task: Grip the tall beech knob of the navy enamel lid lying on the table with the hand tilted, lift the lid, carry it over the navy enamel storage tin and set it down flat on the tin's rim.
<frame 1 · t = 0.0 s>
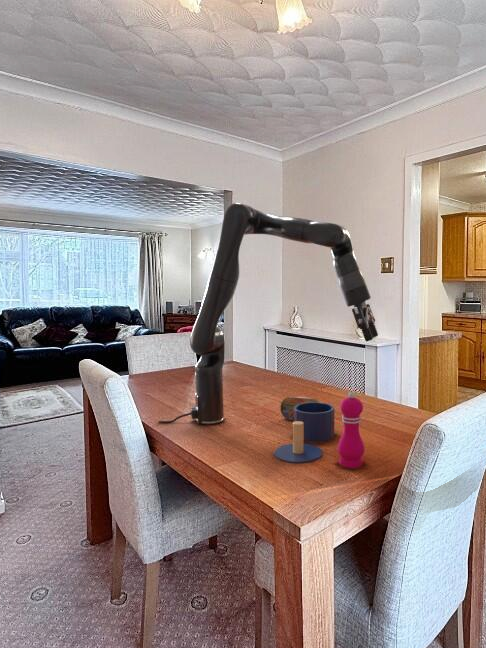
hand: (372, 338, 138), 31 cm above the table, tool tilted 20°, fingers open, 8 cm apart
pepper mill: (350, 465, 123), on the table
lid: (298, 453, 129), point 1 cm above the table
can: (314, 436, 144), on the table
tin: (301, 421, 161), on the table
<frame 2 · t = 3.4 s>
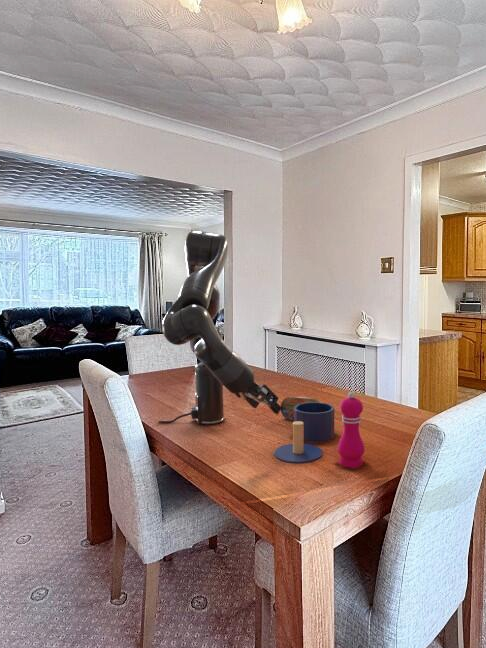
hand: (267, 408, 119), 16 cm above the table, tool tilted 45°, fingers open, 8 cm apart
nothing on the table moved.
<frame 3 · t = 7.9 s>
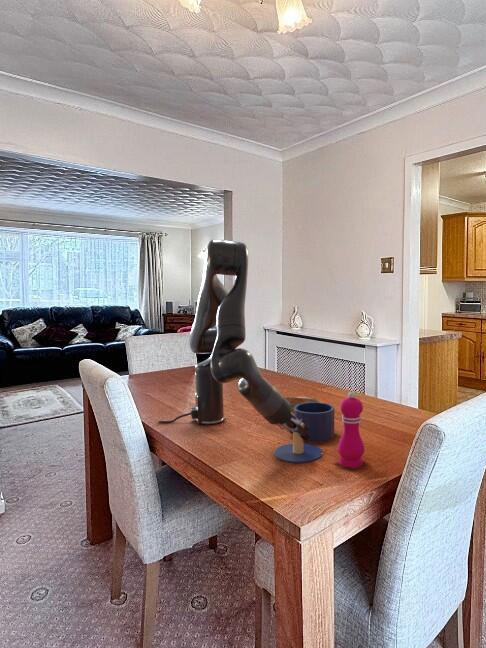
hand: (303, 436, 130), 5 cm above the table, tool tilted 45°, fingers closed on lid, 3 cm apart
lid: (298, 453, 129), point 1 cm above the table, touching gripper
everything else where it was.
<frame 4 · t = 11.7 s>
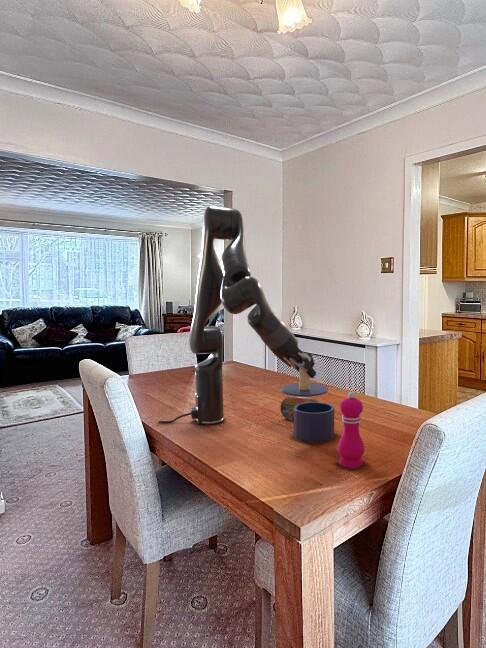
hand: (309, 374, 134), 22 cm above the table, tool tilted 45°, fingers closed on lid, 3 cm apart
lid: (304, 390, 133), point 17 cm above the table, touching gripper
everything else where it was.
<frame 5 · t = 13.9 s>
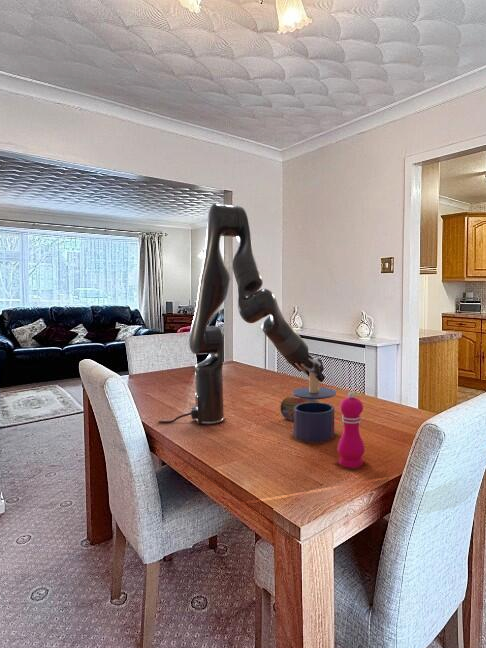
hand: (318, 378, 143), 18 cm above the table, tool tilted 45°, fingers closed on lid, 3 cm apart
lid: (314, 393, 142), point 14 cm above the table, touching gripper
everything else where it was.
when the fingers open (14 cm above the table, at t = 15.5 s): lid stays where it is, resting on can.
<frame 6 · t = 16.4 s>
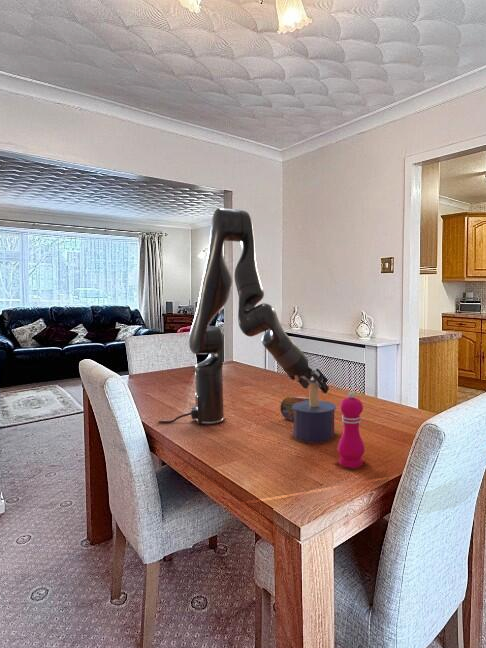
hand: (316, 388, 143), 15 cm above the table, tool tilted 45°, fingers open, 8 cm apart
lid: (314, 407, 143), point 9 cm above the table, touching can
everything else where it was.
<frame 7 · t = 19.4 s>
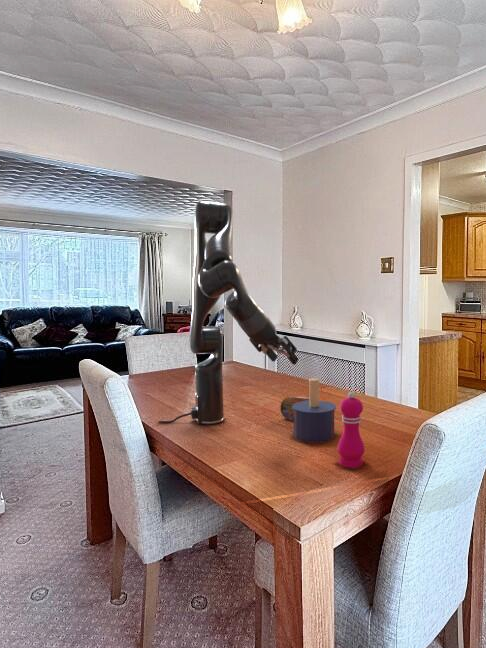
hand: (285, 360, 134), 26 cm above the table, tool tilted 45°, fingers open, 8 cm apart
nothing on the table moved.
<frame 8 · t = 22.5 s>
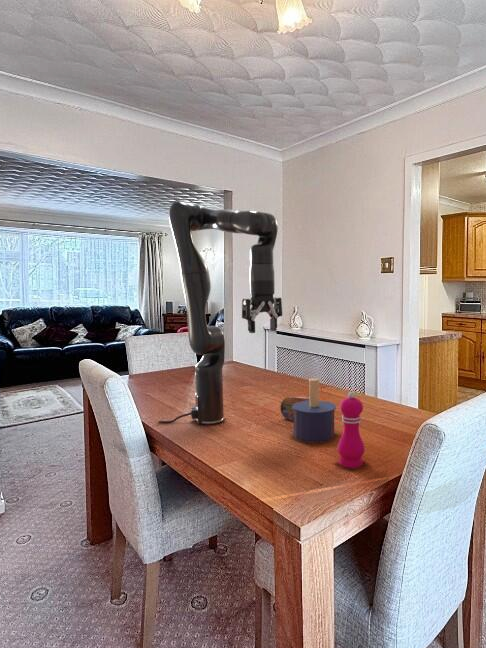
hand: (262, 331, 142), 33 cm above the table, tool pointing down, fingers open, 8 cm apart
nothing on the table moved.
at the end: lid 0.1 cm off-centre on the can, point 9.4 cm above the can's base; lid tilted 0°; the gripper is holding nothing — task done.
